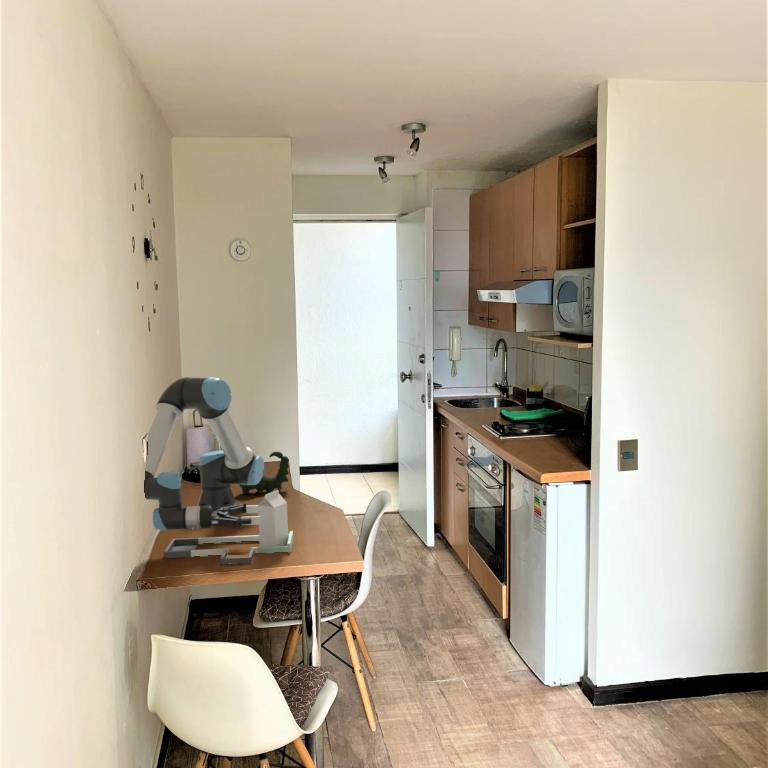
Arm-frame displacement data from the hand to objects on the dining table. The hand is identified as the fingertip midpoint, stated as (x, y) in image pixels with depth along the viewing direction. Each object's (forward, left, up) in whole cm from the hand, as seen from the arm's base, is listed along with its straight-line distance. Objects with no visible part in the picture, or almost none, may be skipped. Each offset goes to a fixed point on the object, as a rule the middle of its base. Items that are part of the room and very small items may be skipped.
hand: (263, 514), depth 263 cm
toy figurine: (-74, -9, -12) cm, 75 cm away
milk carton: (0, +3, -12) cm, 12 cm away
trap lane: (+4, -12, -11) cm, 17 cm away
